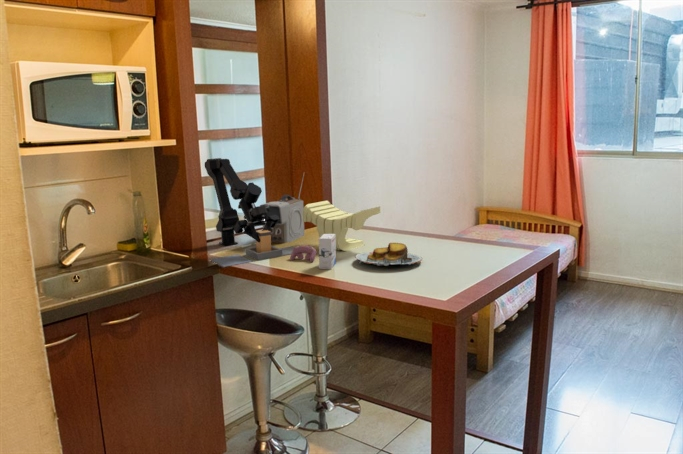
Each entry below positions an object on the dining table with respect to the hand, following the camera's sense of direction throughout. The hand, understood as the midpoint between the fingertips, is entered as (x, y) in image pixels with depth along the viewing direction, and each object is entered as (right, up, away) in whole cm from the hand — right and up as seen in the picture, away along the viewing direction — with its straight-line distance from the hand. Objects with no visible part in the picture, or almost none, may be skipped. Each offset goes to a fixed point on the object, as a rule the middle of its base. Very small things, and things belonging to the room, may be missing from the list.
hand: (265, 240), depth 231 cm
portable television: (+5, -1, +32) cm, 33 cm away
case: (+4, -6, +5) cm, 9 cm away
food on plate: (+49, -9, -11) cm, 51 cm away
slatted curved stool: (+31, -3, +16) cm, 35 cm away
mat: (-13, -8, -4) cm, 16 cm away
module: (-1, -6, +2) cm, 7 cm away
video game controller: (+16, -8, -5) cm, 18 cm away
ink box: (+26, -10, -14) cm, 31 cm away
